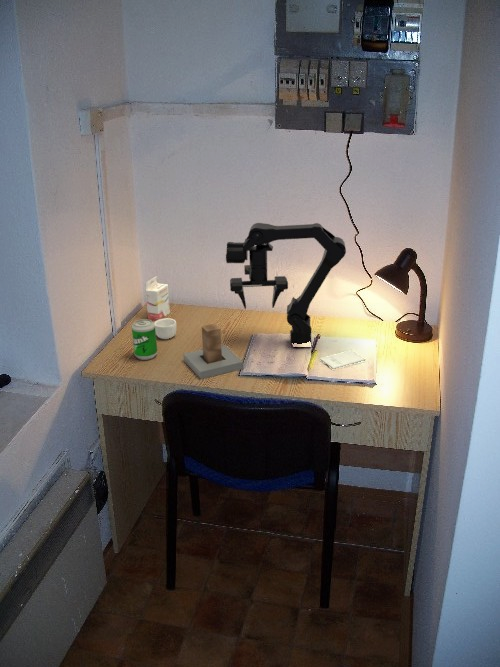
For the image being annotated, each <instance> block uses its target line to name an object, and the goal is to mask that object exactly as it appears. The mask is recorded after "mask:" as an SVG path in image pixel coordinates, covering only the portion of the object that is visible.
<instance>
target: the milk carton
mask: <svg viewBox="0 0 500 667" xmlns="http://www.w3.org/2000/svg"><path fill="white" fill-rule="evenodd" d="M169 295H170V294H169V284H166V283H159V282H158V275H156V276H154V277H152V278H151V279H149V280H148V281H146V282H145V296H146V307H147V308H146V309H147V318H148V320H151V321H157V320H159V319H164V318H165V317H166V316H168V315H169V314H170V312H171V311H170V296H169ZM167 314H168V315H167ZM163 317H164V318H163Z"/></svg>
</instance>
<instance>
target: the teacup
mask: <svg viewBox="0 0 500 667" xmlns="http://www.w3.org/2000/svg"><path fill="white" fill-rule="evenodd" d="M153 323H154V324H155V330H156V337H157V338H159V339H161V340H169V338H170V339H172V338H173V337H174V336H175V335H176V333H177V321H176V320H175V319H173V318H170V317H167V318H165V317H164V318H162V319H159V320H154V322H153Z"/></svg>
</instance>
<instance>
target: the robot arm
mask: <svg viewBox="0 0 500 667" xmlns="http://www.w3.org/2000/svg"><path fill="white" fill-rule="evenodd" d="M301 239H314V240H316V241H317V243H319V245H320V246H321V247H322V248H323V249H324V252H323V254H322V258H321V260H320V262H319V263H318V264H319V265H318V266H317V267H316V268H315V270H314V272H313V274H312V276H311V277H310V279H309V280H308V282H307V284H306V286H305V288H304V289H303V290H302V292H301V294H300V295H299V296H298V297H297V298H295V297H294V296H292V297H291V301H290V303H289V304H288V305H287V306H286V307H287V308H286V321H287V323H288V324H289V326H291V330H289V343H290V342H291V343H293V344H294V343H297V344H302V343H307V342H309V341H310V342H311V343H312V326H311V316H310V315H309V314H308V311H309V308H310V304H311V302H312V301H313V299H314V298H315V296H316V295H317V293H318V291H319V290H320V289H321V286H322V285H323V283H324V282H325V280H326V278H327V277H328V276H329V274H330V272H331V270H332V269H333V268H334V267H335V266H337V265H338V264H339V263H340V262H341V260H342V259H344V257H345V256H346V253H347V248H346V244H345V241H344V239H343V238H341V237H338V236H335V235H334V234H333V233H332V232H331V231H329V230H328V229H327V228H325V227H324V226H323V225H322V224H320V223H318V222H315V223H311V224H307V223H306V224H293V225H292V224H291V225H273V224H270V223H265V222H264V223H263V222H255V223H253V224H252V225H251V227H250V228H249V231H248V235H247V237H246V238H244V242H233V241H227V243H226V253H225V261H226V264H245V262H246V261H248V256H249V264H245V265H244V267H243V268H244V270H243V271H244V276H248V278H249V280H243V277H231V278H230V280H229V287H230V292H234V294H237V295H238V296H239V299H241V303H242V305H243V308H244V309H245V310H246V309H247V305H246V304H247V303H246V297H245V292H244V288H250V287H251V288H253V287H254V288H255V287H256V288H257V287H273V290H272V291H273V292H272V300H271V301H272V302H271V306H272V309H273V308H275V306H276V303H277V300H278V298H279V297H280V295H281V293H283V292H284V291H285V290H288V289H289V281H288V279H287V278H288V277H286V276H285V275H281V276H277V275H276V276H274V279H268V252H273V249H274V246H273V245H272V244H271V243H273V242H275V241H279V240H280V241H282V240H283V241H284V240H285V241H286V240H301ZM291 343H290V344H291Z"/></svg>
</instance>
